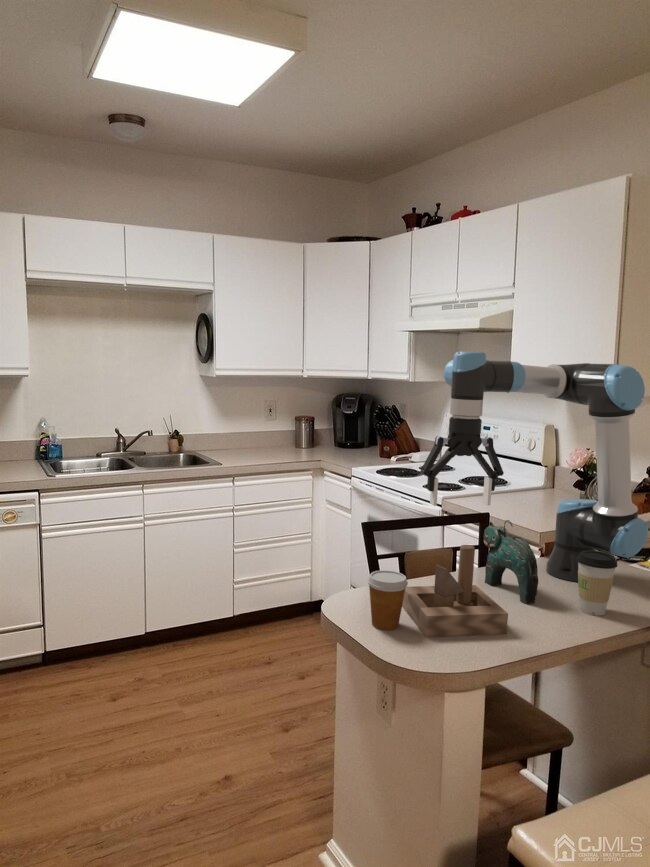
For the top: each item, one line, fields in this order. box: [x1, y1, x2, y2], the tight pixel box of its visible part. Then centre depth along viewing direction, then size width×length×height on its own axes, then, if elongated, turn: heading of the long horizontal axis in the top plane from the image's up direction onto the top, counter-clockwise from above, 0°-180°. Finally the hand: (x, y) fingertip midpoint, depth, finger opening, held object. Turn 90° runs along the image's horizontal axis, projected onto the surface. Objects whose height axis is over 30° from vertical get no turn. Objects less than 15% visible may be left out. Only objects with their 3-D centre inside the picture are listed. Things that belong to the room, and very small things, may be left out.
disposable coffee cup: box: [367, 569, 409, 631], centre depth 157 cm, size 10×10×12 cm
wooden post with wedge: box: [434, 544, 476, 607], centre depth 162 cm, size 4×11×18 cm, turn 125°
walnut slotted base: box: [402, 584, 509, 638], centre depth 163 cm, size 20×19×5 cm
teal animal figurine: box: [483, 519, 539, 605], centre depth 183 cm, size 20×6×20 cm, turn 23°
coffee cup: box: [577, 550, 619, 617], centre depth 171 cm, size 10×10×15 cm
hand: (460, 504), depth 159 cm, fingers open, 13 cm apart
